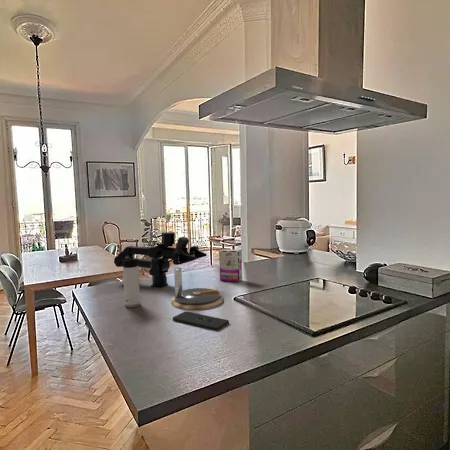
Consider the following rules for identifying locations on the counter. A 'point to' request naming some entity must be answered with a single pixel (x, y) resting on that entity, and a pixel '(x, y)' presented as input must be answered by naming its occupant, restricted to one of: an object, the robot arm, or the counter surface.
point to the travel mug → (131, 283)
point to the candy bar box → (230, 265)
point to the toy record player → (192, 292)
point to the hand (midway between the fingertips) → (201, 256)
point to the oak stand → (196, 307)
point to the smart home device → (201, 321)
